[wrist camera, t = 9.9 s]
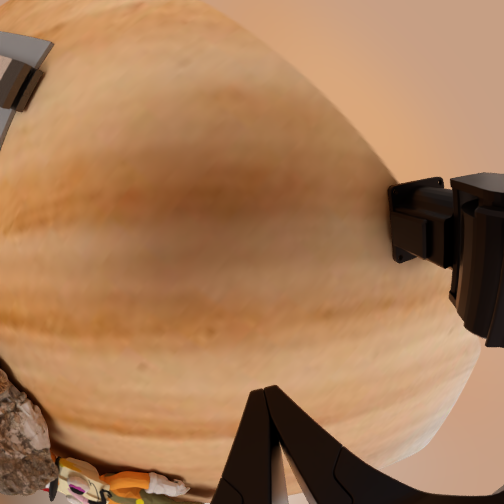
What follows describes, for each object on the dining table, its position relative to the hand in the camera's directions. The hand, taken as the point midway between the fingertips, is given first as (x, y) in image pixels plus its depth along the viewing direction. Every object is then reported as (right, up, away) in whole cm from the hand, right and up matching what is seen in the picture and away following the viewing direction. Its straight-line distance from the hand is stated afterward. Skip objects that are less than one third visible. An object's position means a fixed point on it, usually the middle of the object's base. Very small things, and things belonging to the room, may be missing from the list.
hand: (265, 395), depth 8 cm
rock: (-33, -12, +12) cm, 37 cm away
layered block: (-17, +16, +3) cm, 24 cm away
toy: (-20, -30, +19) cm, 41 cm away
